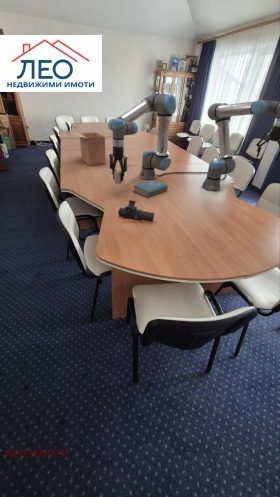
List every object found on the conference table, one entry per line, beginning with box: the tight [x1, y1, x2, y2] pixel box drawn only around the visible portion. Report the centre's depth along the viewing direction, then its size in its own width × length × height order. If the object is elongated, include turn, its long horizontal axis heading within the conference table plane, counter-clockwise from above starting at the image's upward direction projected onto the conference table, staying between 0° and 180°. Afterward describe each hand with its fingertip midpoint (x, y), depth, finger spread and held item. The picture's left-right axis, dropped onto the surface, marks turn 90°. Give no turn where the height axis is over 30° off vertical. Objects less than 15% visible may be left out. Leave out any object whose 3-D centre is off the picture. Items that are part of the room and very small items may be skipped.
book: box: [133, 179, 169, 198], centre depth 177 cm, size 23×16×5 cm
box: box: [70, 129, 113, 166], centre depth 229 cm, size 44×36×27 cm
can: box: [113, 169, 123, 185], centre depth 160 cm, size 6×6×8 cm
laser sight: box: [117, 199, 155, 223], centre depth 137 cm, size 10×22×10 cm, turn 78°
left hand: (118, 179), depth 162 cm, fingers closed on can, 6 cm apart
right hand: (266, 158), depth 162 cm, fingers open, 13 cm apart
